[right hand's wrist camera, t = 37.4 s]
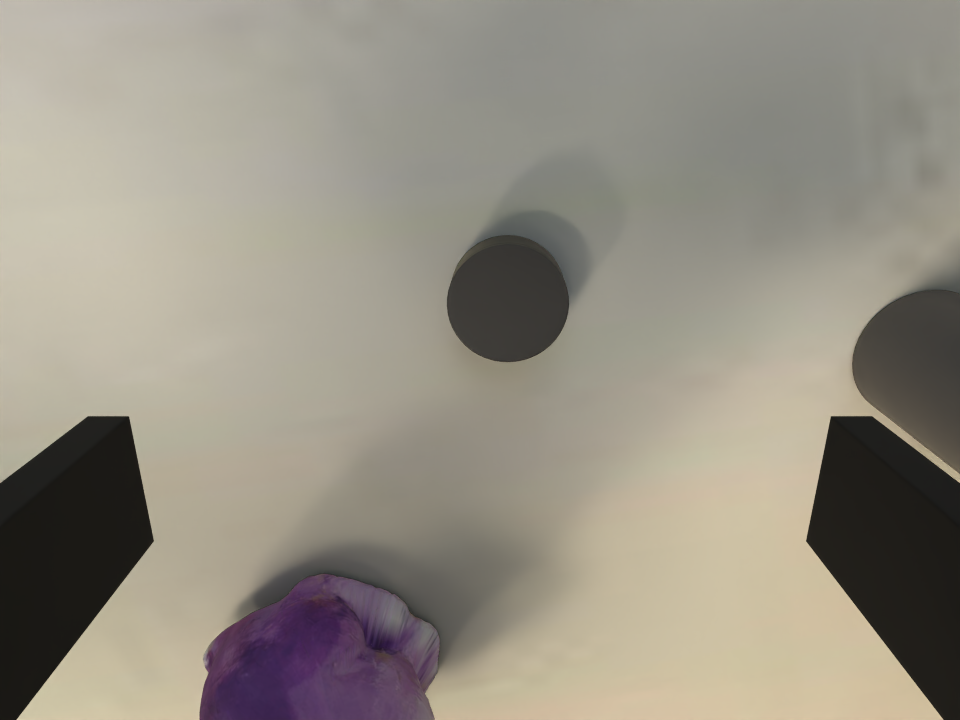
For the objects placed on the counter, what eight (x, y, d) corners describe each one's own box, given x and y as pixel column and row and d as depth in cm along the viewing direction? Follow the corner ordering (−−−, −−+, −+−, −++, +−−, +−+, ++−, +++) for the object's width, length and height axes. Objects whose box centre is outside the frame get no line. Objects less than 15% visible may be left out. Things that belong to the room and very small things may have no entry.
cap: (432, 262, 26) (427, 273, 24) (538, 216, 25) (541, 224, 23) (478, 361, 27) (476, 379, 25) (580, 320, 27) (586, 335, 25)
